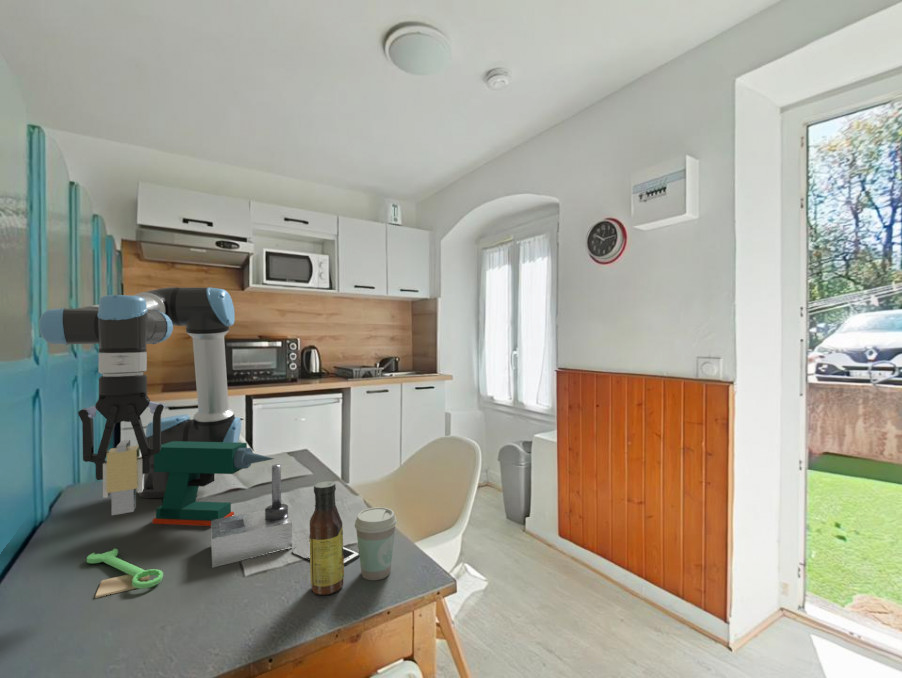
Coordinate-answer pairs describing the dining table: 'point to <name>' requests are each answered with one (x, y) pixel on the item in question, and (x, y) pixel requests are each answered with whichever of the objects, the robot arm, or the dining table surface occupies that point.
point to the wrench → (127, 568)
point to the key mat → (117, 585)
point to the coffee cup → (375, 541)
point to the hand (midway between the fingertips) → (124, 492)
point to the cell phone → (348, 555)
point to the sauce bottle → (326, 542)
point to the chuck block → (252, 530)
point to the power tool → (197, 478)
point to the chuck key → (122, 476)
